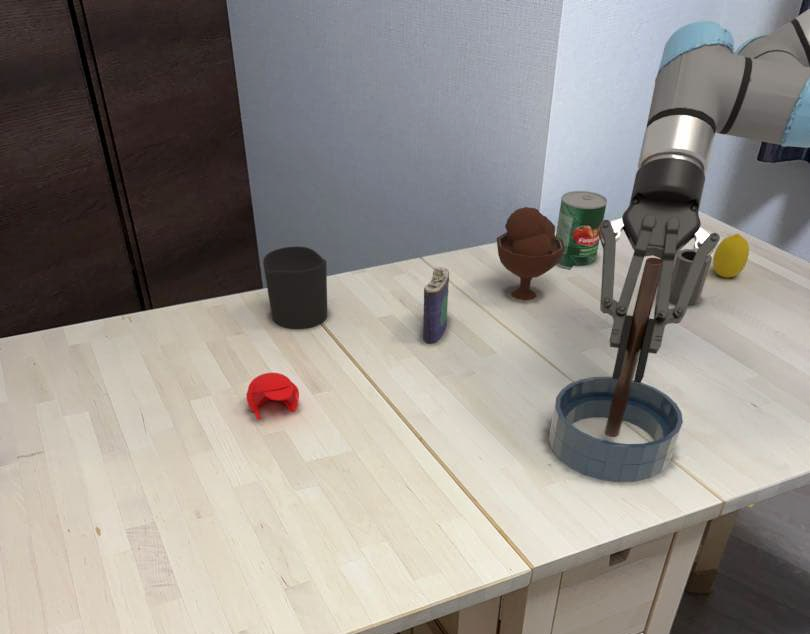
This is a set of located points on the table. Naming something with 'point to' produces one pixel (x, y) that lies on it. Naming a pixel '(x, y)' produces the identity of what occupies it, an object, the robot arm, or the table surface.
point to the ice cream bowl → (529, 248)
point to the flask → (435, 305)
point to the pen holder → (296, 287)
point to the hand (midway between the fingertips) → (627, 377)
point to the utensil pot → (680, 273)
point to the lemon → (731, 256)
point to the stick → (634, 344)
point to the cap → (272, 392)
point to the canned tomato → (580, 227)
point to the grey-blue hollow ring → (609, 457)
